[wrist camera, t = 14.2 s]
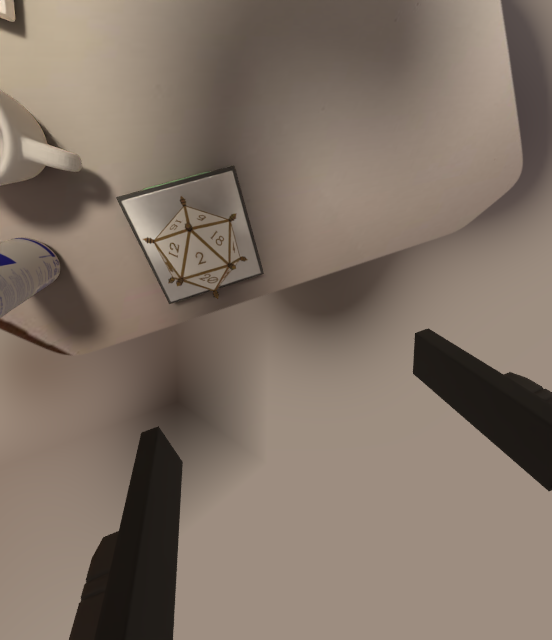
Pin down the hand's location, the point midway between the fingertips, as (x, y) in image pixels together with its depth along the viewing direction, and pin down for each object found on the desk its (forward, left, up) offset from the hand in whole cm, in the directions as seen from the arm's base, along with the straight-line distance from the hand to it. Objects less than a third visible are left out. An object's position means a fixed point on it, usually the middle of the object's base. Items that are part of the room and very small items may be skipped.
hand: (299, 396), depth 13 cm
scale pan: (-3, -5, -22) cm, 23 cm away
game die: (-3, -5, -22) cm, 22 cm away
